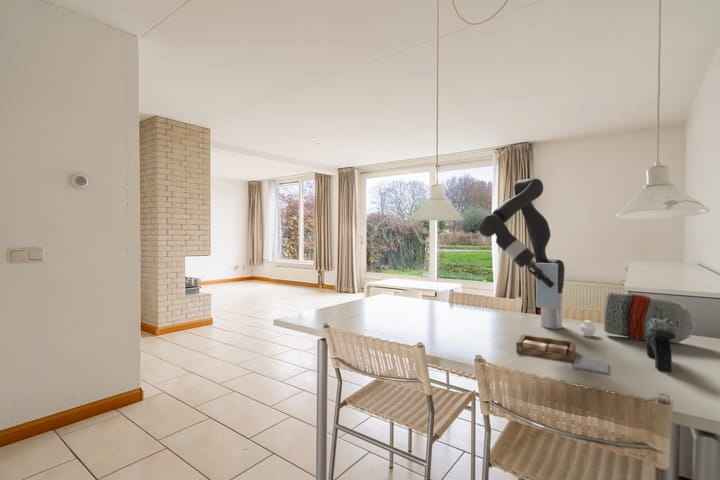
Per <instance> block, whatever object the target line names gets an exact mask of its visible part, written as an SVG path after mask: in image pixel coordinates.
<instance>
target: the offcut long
mask: <svg viewBox="0 0 720 480" xmlns="http://www.w3.org/2000/svg"><path fill="white" fill-rule="evenodd" d="M522 348H529V349H535V350H541V351H547V344H545V343H540V342H535V341H529V340H524V341H523V342H522Z"/></svg>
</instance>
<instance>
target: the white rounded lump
mask: <svg viewBox="0 0 720 480" xmlns="http://www.w3.org/2000/svg"><path fill="white" fill-rule="evenodd" d="M579 328H580V331H581V332H582V334H583V336H585V337H593V335H594V334H595V333H596V330H597V328H596V326H595V324H594V323H593V321H592V320H583V323H581V324H580V326H579Z"/></svg>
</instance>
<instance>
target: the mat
mask: <svg viewBox="0 0 720 480" xmlns="http://www.w3.org/2000/svg"><path fill="white" fill-rule="evenodd" d="M572 368H573V369H577V370H580V371H581V370H582V371H587V372H593V373H597V374H598V373H599V374H604V375H609V373H610V371H609V370H610V369H609V363H608V362H603V361H602V362H601V361H596V360H591V359H584V358H577V357H574V362H573V365H572Z"/></svg>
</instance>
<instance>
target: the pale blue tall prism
mask: <svg viewBox="0 0 720 480" xmlns="http://www.w3.org/2000/svg"><path fill="white" fill-rule="evenodd" d="M537 265H538V267H539V268H540V269H541V270H543V273H544V274H545V275H546V276H547V277H548V278H549V279H550V280H551V281H552V282H553V283H554V285H553V286H552V287H551V288H549V287H548V286H547V285H546V284H545V283H544V282H543V281H541V280H539V279H538V278H537V277H536V301H535V303H536V304H535V305H536V307H538V308H539V307H540V308H541V307H546V308H556V309H557V307H558V264H555V263H537ZM539 271H540V270H539ZM539 276H541V274H540V275H539ZM547 277H546V278H547Z"/></svg>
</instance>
